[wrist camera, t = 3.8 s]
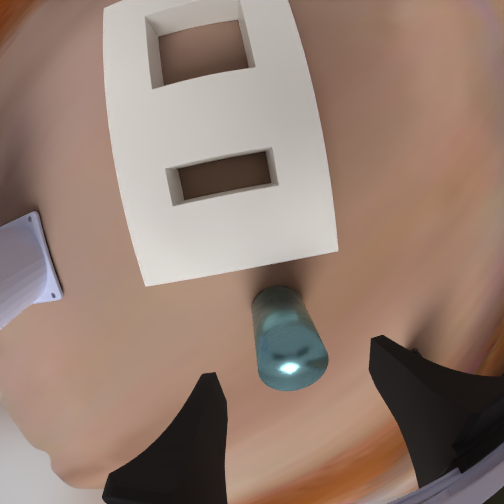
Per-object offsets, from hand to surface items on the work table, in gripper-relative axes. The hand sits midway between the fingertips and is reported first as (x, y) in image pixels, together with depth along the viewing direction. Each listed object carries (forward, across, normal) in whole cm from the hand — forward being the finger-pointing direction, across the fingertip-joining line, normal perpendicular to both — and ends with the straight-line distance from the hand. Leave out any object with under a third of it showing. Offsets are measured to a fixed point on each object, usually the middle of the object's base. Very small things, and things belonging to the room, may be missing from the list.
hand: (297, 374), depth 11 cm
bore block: (+9, +2, -13) cm, 16 cm away
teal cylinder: (+10, 0, +2) cm, 10 cm away
